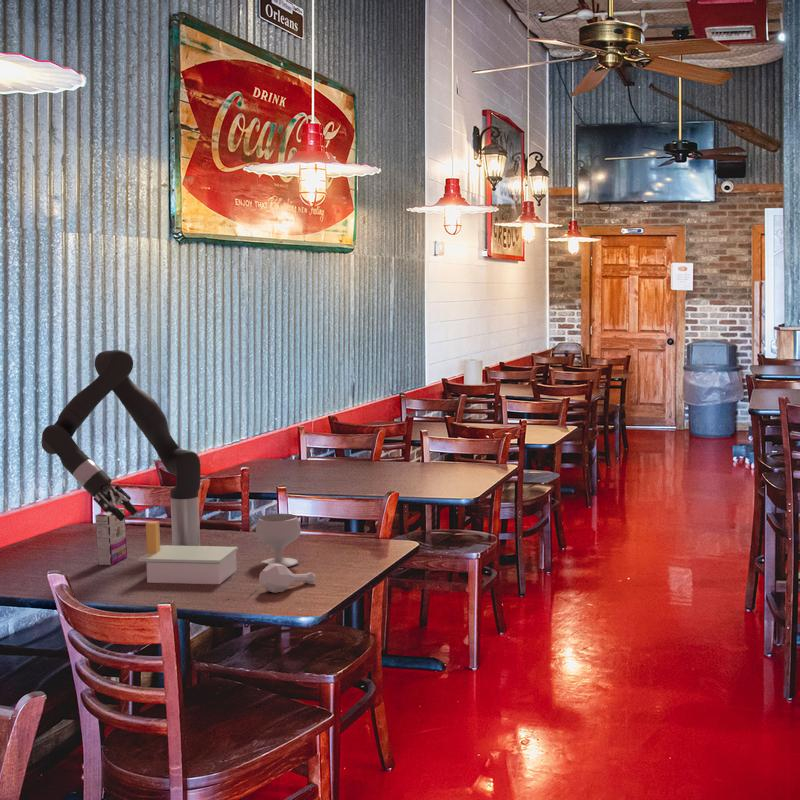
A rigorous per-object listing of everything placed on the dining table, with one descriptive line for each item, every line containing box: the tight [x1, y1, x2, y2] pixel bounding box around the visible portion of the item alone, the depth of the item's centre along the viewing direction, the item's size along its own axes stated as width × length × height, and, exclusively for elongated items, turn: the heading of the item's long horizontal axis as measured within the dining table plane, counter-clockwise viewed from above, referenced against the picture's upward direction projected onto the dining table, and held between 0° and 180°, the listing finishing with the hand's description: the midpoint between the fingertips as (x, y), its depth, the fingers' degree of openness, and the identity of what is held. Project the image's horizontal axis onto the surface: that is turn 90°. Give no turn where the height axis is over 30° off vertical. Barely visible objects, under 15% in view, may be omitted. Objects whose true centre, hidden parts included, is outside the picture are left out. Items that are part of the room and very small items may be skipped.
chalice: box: [255, 513, 302, 568], centre depth 324 cm, size 14×14×15 cm
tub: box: [146, 551, 238, 585], centre depth 308 cm, size 16×22×7 cm
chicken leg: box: [258, 564, 317, 594], centre depth 297 cm, size 8×18×8 cm, turn 134°
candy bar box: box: [94, 507, 128, 566], centre depth 332 cm, size 11×5×16 cm, turn 168°
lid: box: [137, 520, 239, 563], centre depth 308 cm, size 17×25×10 cm
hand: (129, 516), depth 310 cm, fingers open, 8 cm apart
